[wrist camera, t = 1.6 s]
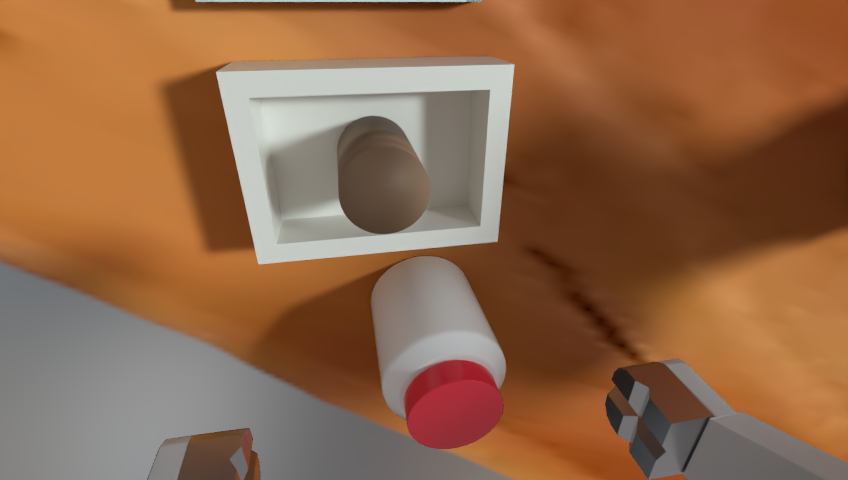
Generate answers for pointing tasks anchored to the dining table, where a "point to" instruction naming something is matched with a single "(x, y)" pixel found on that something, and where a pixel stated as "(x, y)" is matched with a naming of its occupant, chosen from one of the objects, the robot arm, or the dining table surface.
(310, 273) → the dining table surface
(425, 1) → the tray
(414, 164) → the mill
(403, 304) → the pill bottle
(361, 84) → the white storage bin
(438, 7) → the dining table surface
